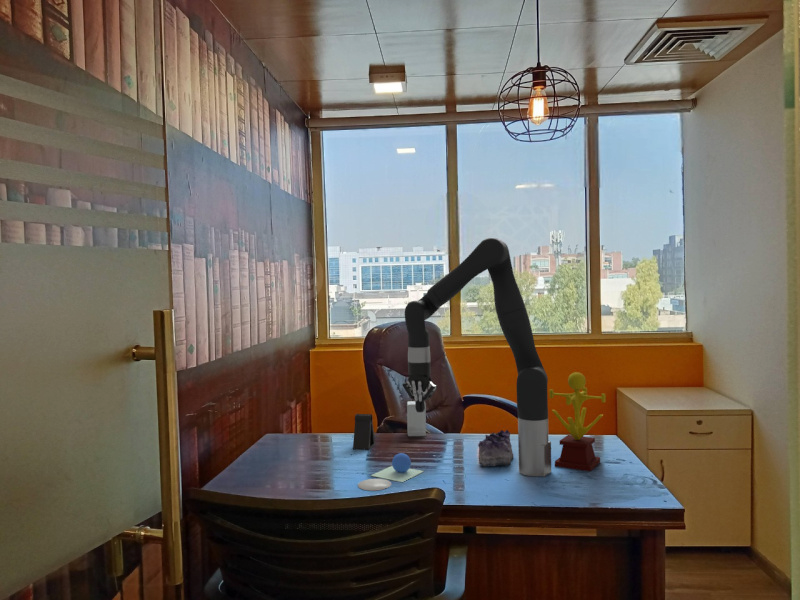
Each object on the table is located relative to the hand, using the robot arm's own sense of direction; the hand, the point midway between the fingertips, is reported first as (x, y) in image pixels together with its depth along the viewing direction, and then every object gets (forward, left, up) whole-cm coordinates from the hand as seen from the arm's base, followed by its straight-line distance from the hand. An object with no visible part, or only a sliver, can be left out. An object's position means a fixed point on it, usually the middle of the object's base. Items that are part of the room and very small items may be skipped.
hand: (420, 411), depth 198 cm
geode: (-20, -15, -17) cm, 31 cm away
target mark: (0, +14, -17) cm, 22 cm away
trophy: (-45, -24, -17) cm, 54 cm away
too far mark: (0, +26, -17) cm, 31 cm away
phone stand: (+29, -6, -17) cm, 34 cm away
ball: (0, +12, -14) cm, 19 cm away
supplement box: (+22, -31, -17) cm, 42 cm away
